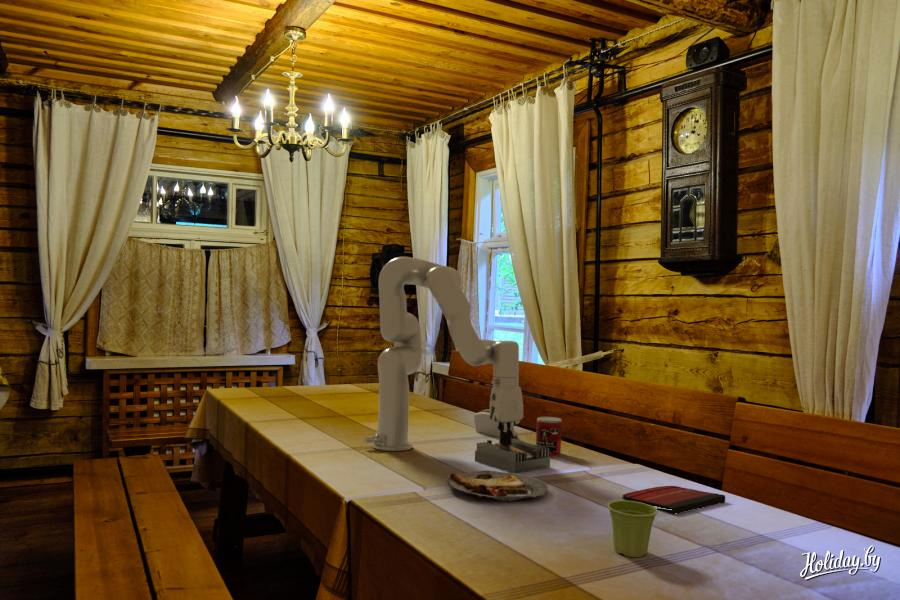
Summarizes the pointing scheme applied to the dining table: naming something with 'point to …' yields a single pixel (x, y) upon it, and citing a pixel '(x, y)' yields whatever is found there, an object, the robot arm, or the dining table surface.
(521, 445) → the heatsink
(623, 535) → the plant pot
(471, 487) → the food plate
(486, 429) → the white curved block
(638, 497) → the binder
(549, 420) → the canned food
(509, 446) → the orange brown flat bar
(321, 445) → the dining table surface
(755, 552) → the dining table surface
